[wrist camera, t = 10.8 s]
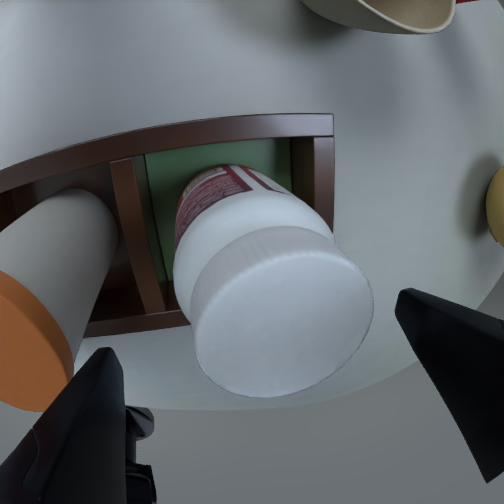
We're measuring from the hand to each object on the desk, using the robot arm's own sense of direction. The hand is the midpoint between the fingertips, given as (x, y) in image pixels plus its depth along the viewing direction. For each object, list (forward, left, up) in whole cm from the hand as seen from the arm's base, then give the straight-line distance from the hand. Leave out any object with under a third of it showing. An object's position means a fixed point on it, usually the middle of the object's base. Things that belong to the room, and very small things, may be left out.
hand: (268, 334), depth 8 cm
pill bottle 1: (0, +9, -11) cm, 14 cm away
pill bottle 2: (0, 0, -11) cm, 11 cm away
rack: (0, +5, -12) cm, 12 cm away
